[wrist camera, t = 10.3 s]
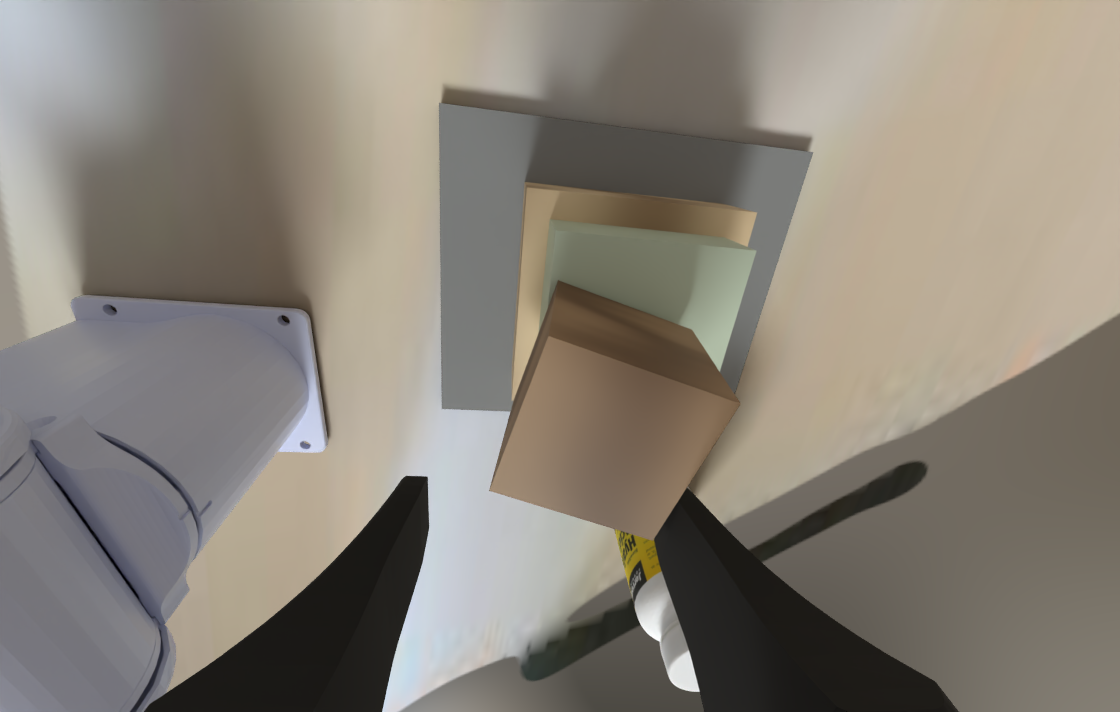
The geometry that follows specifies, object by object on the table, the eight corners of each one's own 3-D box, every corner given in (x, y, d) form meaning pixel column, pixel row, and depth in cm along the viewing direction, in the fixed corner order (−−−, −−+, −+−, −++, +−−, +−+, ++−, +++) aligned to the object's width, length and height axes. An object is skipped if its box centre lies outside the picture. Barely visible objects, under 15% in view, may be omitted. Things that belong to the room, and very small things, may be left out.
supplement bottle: (602, 482, 27) (647, 646, 18) (687, 462, 27) (774, 616, 18) (615, 541, 29) (660, 711, 20) (693, 523, 29) (772, 685, 20)
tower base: (511, 370, 22) (511, 400, 19) (524, 181, 18) (526, 187, 16) (678, 378, 23) (700, 408, 21) (723, 203, 19) (757, 212, 17)
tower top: (533, 382, 19) (536, 413, 17) (549, 219, 16) (555, 230, 14) (683, 389, 20) (704, 420, 18) (724, 237, 17) (756, 250, 15)
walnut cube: (514, 399, 17) (489, 490, 12) (557, 280, 15) (548, 335, 10) (633, 439, 17) (652, 540, 13) (692, 329, 15) (740, 403, 11)
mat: (443, 403, 23) (441, 408, 23) (441, 104, 17) (439, 102, 17) (722, 414, 25) (726, 419, 25) (806, 152, 19) (813, 152, 19)
